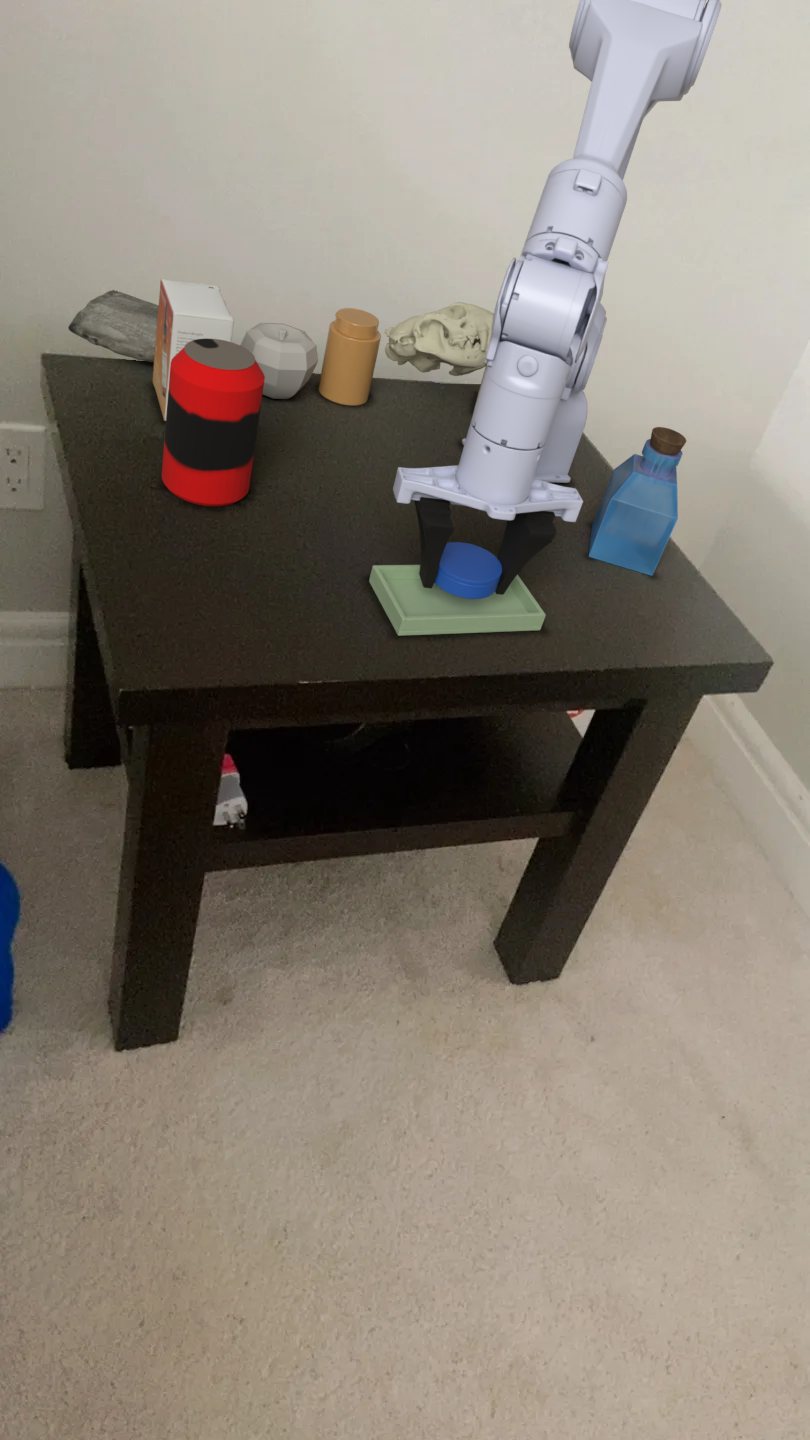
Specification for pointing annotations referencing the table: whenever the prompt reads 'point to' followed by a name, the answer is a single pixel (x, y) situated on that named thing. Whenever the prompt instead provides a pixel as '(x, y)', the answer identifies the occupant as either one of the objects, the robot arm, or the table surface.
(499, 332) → the robot arm
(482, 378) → the rubik's cube
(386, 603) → the tray
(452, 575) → the lid
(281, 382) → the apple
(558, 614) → the table surface
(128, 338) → the stone
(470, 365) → the animal skull
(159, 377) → the small box
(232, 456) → the soda can
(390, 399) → the table surface
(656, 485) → the perfume bottle
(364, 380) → the jar
